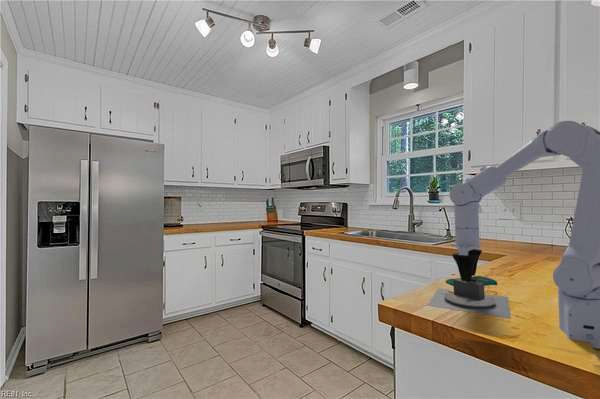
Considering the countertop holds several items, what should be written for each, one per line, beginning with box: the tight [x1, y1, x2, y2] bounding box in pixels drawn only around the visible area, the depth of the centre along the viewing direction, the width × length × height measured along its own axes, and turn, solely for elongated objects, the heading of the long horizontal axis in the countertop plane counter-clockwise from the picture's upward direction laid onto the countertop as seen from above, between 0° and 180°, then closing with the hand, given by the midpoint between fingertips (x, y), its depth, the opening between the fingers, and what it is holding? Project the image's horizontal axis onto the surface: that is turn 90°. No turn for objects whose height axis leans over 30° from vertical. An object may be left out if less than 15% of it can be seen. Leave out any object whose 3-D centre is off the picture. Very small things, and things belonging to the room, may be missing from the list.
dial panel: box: [427, 287, 512, 320], centre depth 82 cm, size 18×18×1 cm
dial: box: [444, 278, 495, 308], centre depth 82 cm, size 12×12×5 cm
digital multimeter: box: [445, 275, 498, 287], centre depth 99 cm, size 7×15×3 cm, turn 105°
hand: (468, 278), depth 82 cm, fingers open, 7 cm apart
